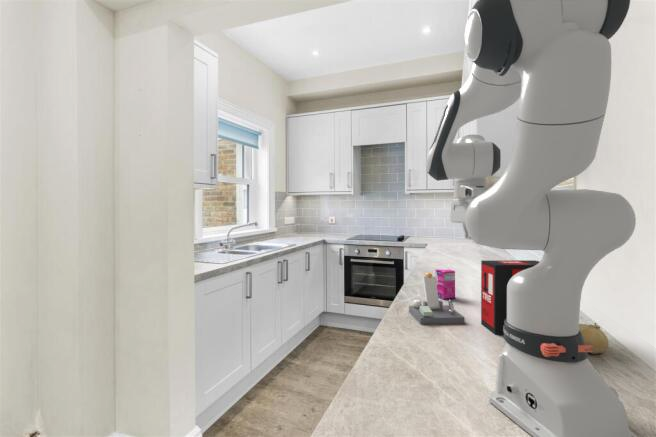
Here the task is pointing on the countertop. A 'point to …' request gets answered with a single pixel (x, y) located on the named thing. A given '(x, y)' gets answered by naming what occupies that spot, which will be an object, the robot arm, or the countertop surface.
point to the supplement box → (445, 283)
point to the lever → (431, 291)
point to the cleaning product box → (498, 291)
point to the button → (417, 303)
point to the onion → (594, 338)
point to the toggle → (451, 307)
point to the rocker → (425, 311)
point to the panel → (437, 315)
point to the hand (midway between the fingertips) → (469, 239)
